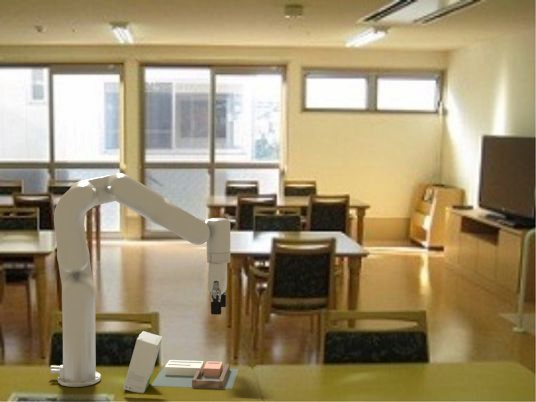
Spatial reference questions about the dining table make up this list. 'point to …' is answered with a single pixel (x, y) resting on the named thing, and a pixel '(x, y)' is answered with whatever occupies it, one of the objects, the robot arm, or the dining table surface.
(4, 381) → the dining table surface
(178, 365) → the flat white box
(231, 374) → the mat
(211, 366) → the pink block
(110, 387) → the dining table surface
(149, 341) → the skincare box
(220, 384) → the tray
